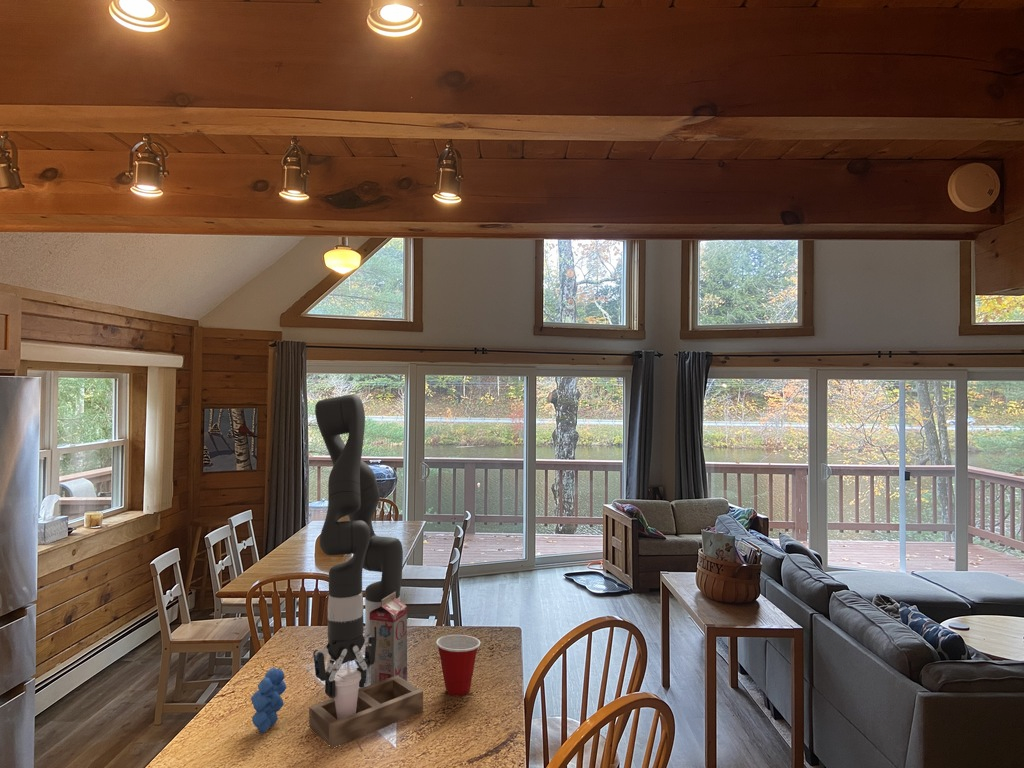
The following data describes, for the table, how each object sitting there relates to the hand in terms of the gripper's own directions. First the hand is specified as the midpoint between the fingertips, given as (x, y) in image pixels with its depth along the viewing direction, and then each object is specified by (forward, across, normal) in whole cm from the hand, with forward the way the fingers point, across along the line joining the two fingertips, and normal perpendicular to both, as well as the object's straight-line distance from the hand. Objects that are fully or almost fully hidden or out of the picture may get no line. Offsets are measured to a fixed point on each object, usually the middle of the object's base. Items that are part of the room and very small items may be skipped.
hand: (346, 691), depth 134 cm
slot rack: (+8, -5, 0) cm, 9 cm away
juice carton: (+8, -17, -11) cm, 22 cm away
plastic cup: (+8, -28, +3) cm, 29 cm away
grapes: (+8, +13, -12) cm, 19 cm away
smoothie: (+6, 0, 0) cm, 6 cm away
